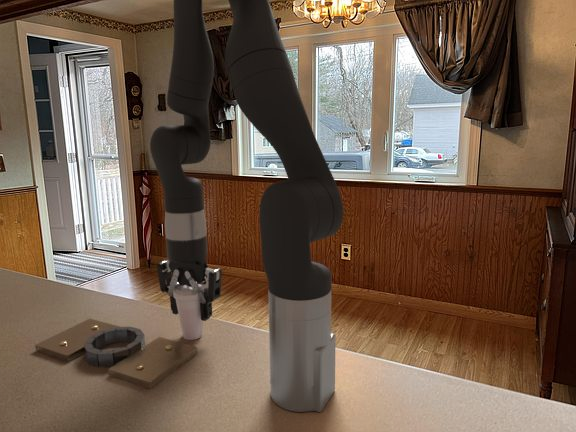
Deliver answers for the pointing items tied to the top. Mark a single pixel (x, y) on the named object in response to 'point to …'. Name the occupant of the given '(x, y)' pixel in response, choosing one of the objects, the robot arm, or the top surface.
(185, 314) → the smoothie
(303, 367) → the robot arm
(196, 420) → the top surface
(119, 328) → the hinge base
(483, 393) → the top surface
